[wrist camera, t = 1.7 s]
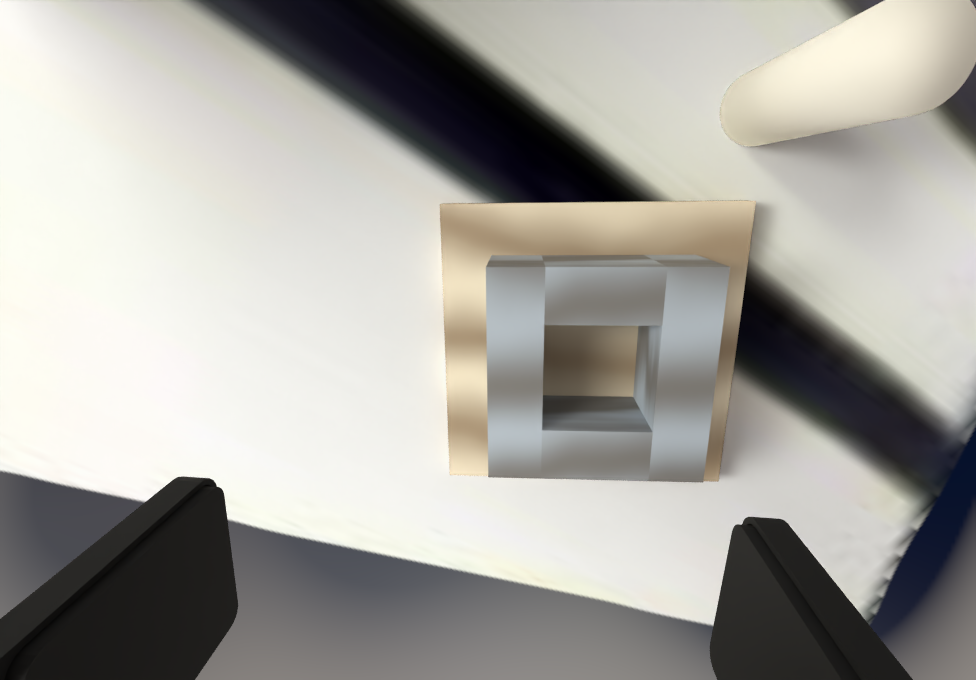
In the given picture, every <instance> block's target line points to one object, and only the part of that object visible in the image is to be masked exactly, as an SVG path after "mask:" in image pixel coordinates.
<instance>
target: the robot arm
mask: <svg viewBox="0 0 976 680" xmlns="http://www.w3.org/2000/svg"><path fill="white" fill-rule="evenodd" d="M237 609H238V600H237V592H236V584H235V576H234V568H233V561H232V553H231V545H230V537H229V529H228V521H227V513H226V506H225V498H224V493H223V490H222V489H221V488H219V487H217V486H216V483H215V482H214V480H212V479H210V478H196V477H177V478H176V479H174V480H172V481H171V482H170V483H169V484H167V485H166V486H165V487H164V488H163V489H161V490H160V491H159V492H158V493H156V494H155V495H154V496H153V497H151V498H150V499H149V500H148V501H146V502H145V503H144V504H143V505H141V506H140V507H139V508H138V509H136V510H135V511H134V512H133V513H131V514H130V515H129V516H128V517H126V518H125V519H124V520H123V521H121V522H120V523H119V524H118V525H117V526H115V527H114V528H113V529H112V530H110V531H109V532H108V533H107V534H106V535H104V536H103V537H102V538H100V539H99V540H98V541H97V542H96V543H94V544H93V545H92V546H90V547H89V548H88V549H87V550H85V551H84V552H83V553H82V554H81V555H79V556H78V557H77V558H76V559H74V560H73V561H72V562H71V563H69V564H68V565H67V566H66V567H64V568H63V569H62V570H61V571H59V572H58V573H57V574H56V575H54V576H53V577H52V578H51V579H49V580H48V581H47V582H46V583H44V584H43V585H42V586H41V587H40V588H38V589H37V590H36V591H35V592H33V593H32V594H31V595H30V596H29V597H27V598H26V599H25V600H23V601H22V602H21V603H20V604H18V605H17V606H16V607H15V608H13V609H12V610H11V611H10V612H8V613H7V614H6V615H5V616H3V617H2V618H1V619H0V680H195V679H196V677H197V676H198V674H199V673H200V671H201V670H202V669H203V667H204V666H205V664H206V663H207V661H208V660H209V658H210V657H211V655H212V654H213V652H214V651H215V650H216V648H217V646H218V645H219V644H220V642H221V641H222V639H223V638H224V636H225V635H226V633H227V632H228V631H229V629H230V627H231V626H232V624H233V622H234V620H235V618H236V614H237ZM710 657H711V663H712V667H713V670H714V672H715V675H716V677H717V680H913V679H912V678H911V677H910V676H909V674H908V673H907V672H906V671H905V669H904V668H903V667H902V666H901V664H900V663H899V662H898V661H897V659H896V658H895V657H894V656H893V654H892V653H891V652H890V651H889V649H888V648H887V647H886V646H885V644H884V643H883V642H882V641H881V639H880V638H879V637H878V636H877V634H876V633H875V632H874V631H873V629H872V628H871V627H870V626H869V624H868V623H867V622H866V621H865V619H864V618H863V617H862V616H861V614H860V613H859V612H858V611H857V609H856V608H855V607H854V606H853V604H852V603H851V602H850V601H849V599H848V598H847V597H846V596H845V594H844V593H843V592H842V591H841V589H840V588H839V587H838V586H837V584H836V583H835V582H834V581H833V579H832V578H831V577H830V576H829V574H828V573H827V572H826V571H825V569H824V568H823V567H822V566H821V564H820V563H819V562H818V561H817V559H816V558H815V557H814V556H813V555H812V553H811V552H810V551H809V550H808V548H807V547H806V546H805V545H804V543H803V542H802V541H801V540H800V538H799V537H798V536H797V535H796V533H795V532H794V531H793V530H792V528H791V527H790V526H789V525H788V523H786V522H785V521H784V520H782V519H773V518H759V517H747V518H745V520H744V521H743V524H742V525H735V526H734V528H733V531H732V535H731V540H730V545H729V550H728V555H727V561H726V566H725V571H724V576H723V581H722V586H721V591H720V596H719V601H718V606H717V611H716V616H715V621H714V627H713V632H712V637H711V642H710Z"/></svg>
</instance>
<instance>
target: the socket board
mask: <svg viewBox="0 0 976 680" xmlns="http://www.w3.org/2000/svg"><path fill="white" fill-rule="evenodd" d="M755 205H756V201H651V202H552V203H453V204H440V222H441V250H442V277H443V304H444V331H445V359H446V386H447V413H448V440H449V468H450V475H469V476H488V477H504V478H545V479H587V480H628V481H669V482H703V481H717V482H718V481H719V473H720V466H721V458H722V451H723V443H724V436H725V428H726V421H727V414H728V406H729V399H730V391H731V384H732V376H733V369H734V362H735V354H736V347H737V339H738V332H739V324H740V317H741V309H742V302H743V295H744V287H745V280H746V272H747V265H748V257H749V250H750V243H751V235H752V228H753V220H754V213H755Z"/></svg>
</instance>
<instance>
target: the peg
mask: <svg viewBox="0 0 976 680" xmlns="http://www.w3.org/2000/svg"><path fill="white" fill-rule="evenodd" d="M975 63H976V9H975V7H974V5H973V4H972V2H971V1H970V0H885V1H883V2H881V3H879V4H877V5H875V6H873V7H871V8H869V9H867V10H866V11H864V12H862V13H860V14H858V15H856V16H854V17H852V18H850V19H848V20H847V21H845V22H843V23H841V24H839V25H837V26H835V27H833V28H831V29H829V30H827V31H826V32H824V33H822V34H820V35H818V36H816V37H814V38H812V39H810V40H808V41H807V42H805V43H803V44H801V45H799V46H797V47H795V48H793V49H791V50H789V51H788V52H786V53H784V54H782V55H780V56H778V57H776V58H774V59H772V60H770V61H769V62H767V63H765V64H763V65H761V66H759V67H757V68H755V69H753V70H751V71H749V72H748V73H746V74H744V75H742V76H740V77H739V78H738V79H736V80H735V81H734V82H733V83H732V84H731V85H730V87H729V88H728V90H727V91H726V93H725V95H724V97H723V99H722V103H721V107H720V121H721V125H722V128H723V130H724V132H725V133H726V135H727V136H728V137H729V138H730V139H731V140H732V141H734V142H735V143H737V144H740V145H743V146H750V147H752V146H760V145H765V144H770V143H775V142H780V141H786V140H791V139H796V138H801V137H806V136H811V135H817V134H822V133H827V132H832V131H837V130H842V129H848V128H853V127H858V126H863V125H868V124H873V123H879V122H884V121H889V120H894V119H899V118H904V117H910V116H914V115H919V114H922V113H925V112H928V111H930V110H932V109H934V108H936V107H938V106H939V105H941V104H942V103H944V102H945V101H946V100H948V99H949V98H950V97H951V96H952V95H954V94H955V93H956V92H957V91H958V89H959V88H960V87H961V86H962V85H963V84H964V82H965V81H966V79H967V78H968V76H969V75H970V73H971V71H972V69H973V67H974V65H975Z"/></svg>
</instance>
